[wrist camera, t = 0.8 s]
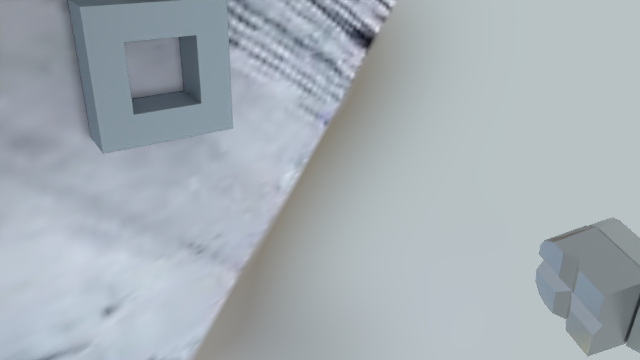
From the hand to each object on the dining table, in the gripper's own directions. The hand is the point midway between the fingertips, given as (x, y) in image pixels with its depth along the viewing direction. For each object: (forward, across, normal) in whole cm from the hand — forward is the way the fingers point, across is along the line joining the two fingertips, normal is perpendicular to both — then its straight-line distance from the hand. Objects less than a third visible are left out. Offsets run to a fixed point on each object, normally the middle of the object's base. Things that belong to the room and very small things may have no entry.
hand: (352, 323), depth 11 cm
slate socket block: (+39, +5, +11) cm, 41 cm away
